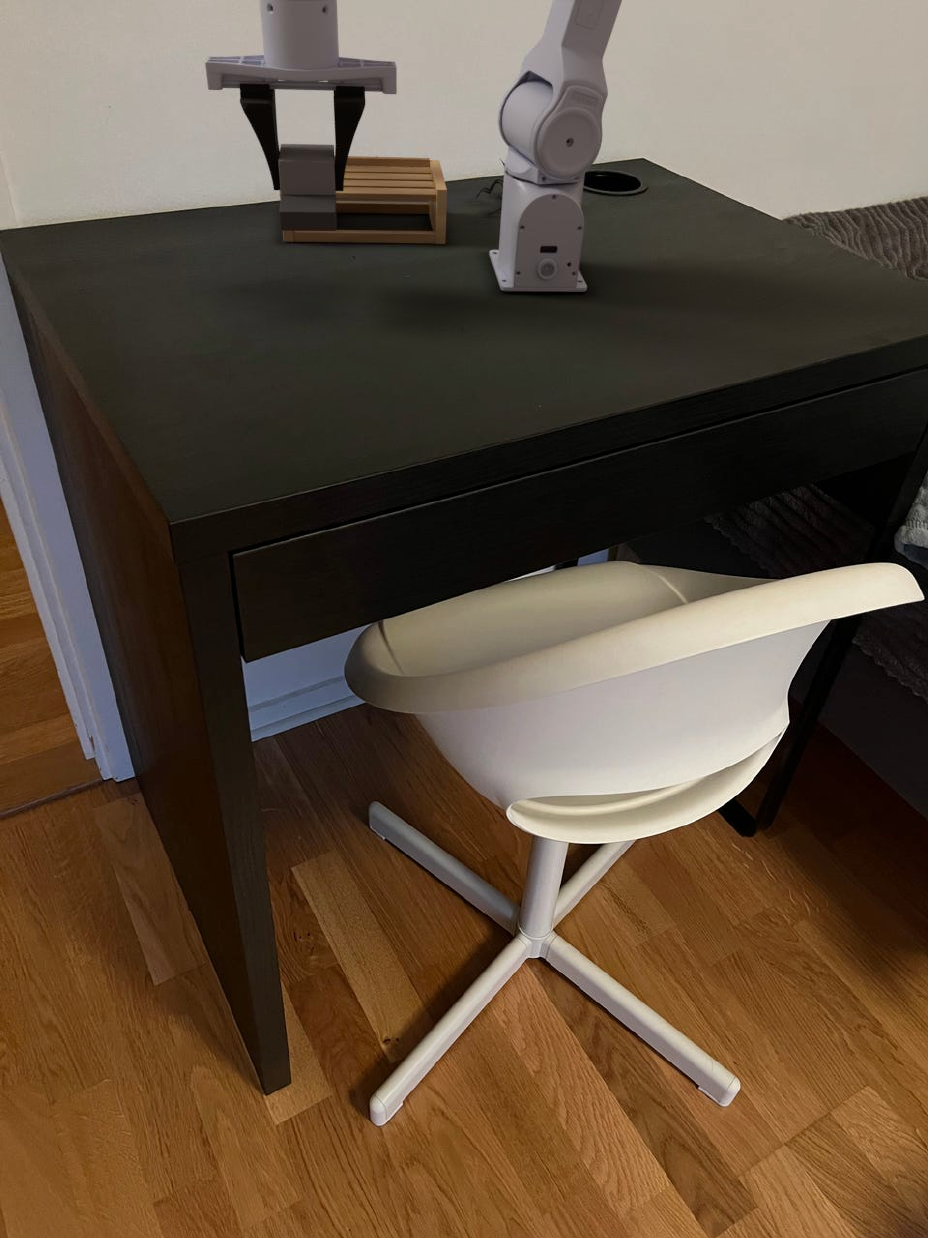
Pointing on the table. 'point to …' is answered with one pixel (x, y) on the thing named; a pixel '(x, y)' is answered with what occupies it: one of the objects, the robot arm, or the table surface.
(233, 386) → the table surface
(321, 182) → the grey step block
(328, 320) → the table surface
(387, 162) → the shoe rack
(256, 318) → the table surface
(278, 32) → the robot arm
